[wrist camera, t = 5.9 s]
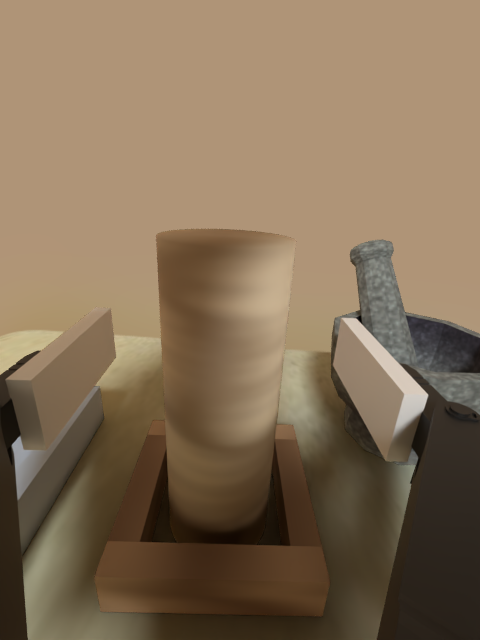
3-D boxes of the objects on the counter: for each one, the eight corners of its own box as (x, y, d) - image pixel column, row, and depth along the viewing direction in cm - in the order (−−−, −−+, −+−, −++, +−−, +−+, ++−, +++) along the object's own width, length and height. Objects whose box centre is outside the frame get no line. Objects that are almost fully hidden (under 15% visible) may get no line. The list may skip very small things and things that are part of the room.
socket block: (289, 451, 19) (293, 424, 19) (322, 616, 12) (330, 582, 11) (154, 447, 19) (153, 420, 18) (100, 611, 12) (94, 576, 11)
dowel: (262, 474, 18) (285, 232, 13) (270, 564, 13) (309, 251, 9) (179, 472, 18) (171, 226, 13) (160, 561, 13) (138, 243, 9)
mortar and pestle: (514, 468, 19) (610, 268, 15) (391, 515, 16) (466, 277, 11) (378, 373, 29) (410, 235, 24) (284, 389, 26) (302, 235, 21)
